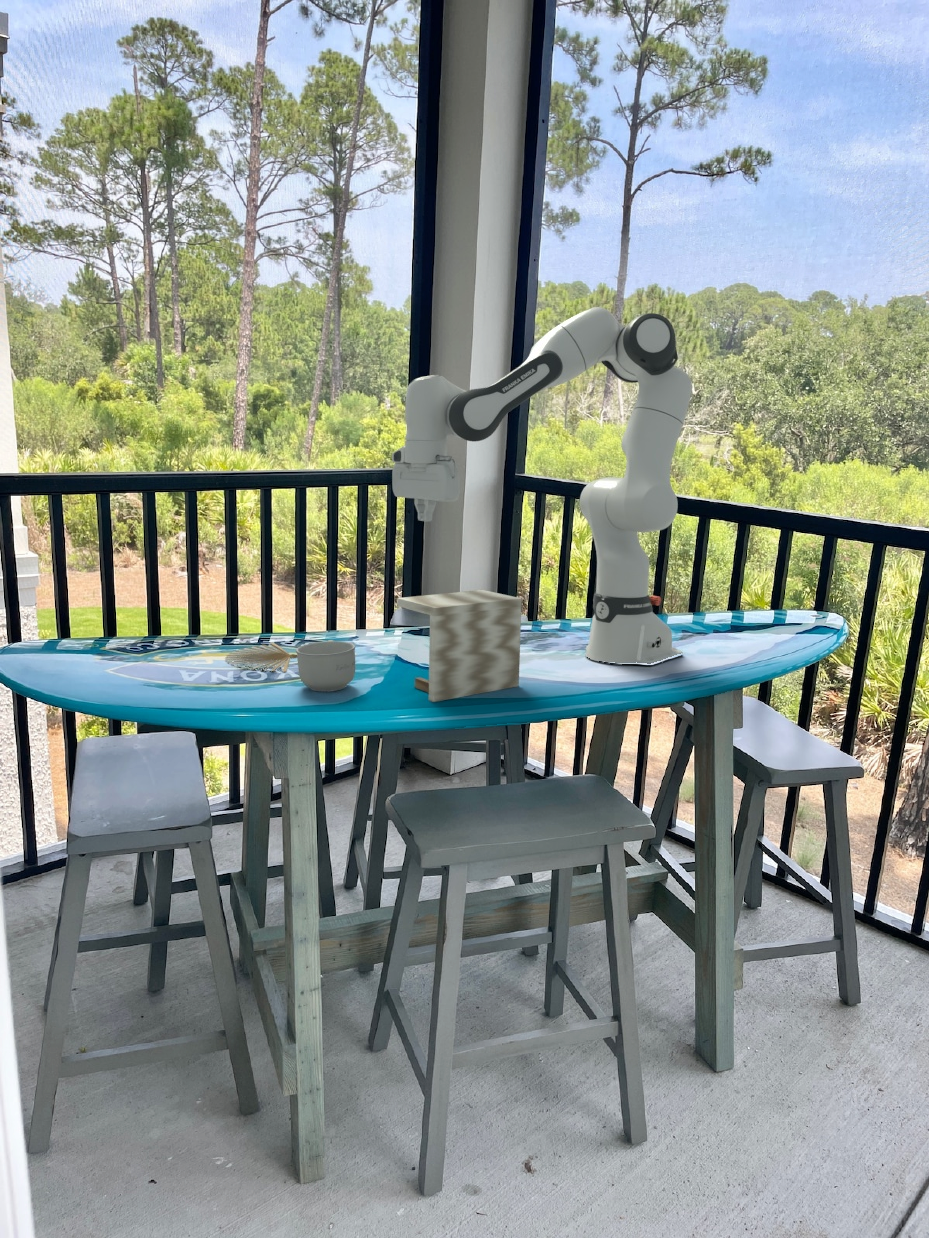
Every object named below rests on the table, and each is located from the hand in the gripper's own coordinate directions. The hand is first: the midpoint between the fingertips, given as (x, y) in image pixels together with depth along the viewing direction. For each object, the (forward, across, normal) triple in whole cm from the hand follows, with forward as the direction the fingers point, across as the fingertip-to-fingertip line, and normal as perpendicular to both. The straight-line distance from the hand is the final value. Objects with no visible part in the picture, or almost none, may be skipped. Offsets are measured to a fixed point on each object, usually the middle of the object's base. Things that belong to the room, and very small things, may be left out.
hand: (425, 521), depth 191 cm
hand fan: (+30, +15, +31) cm, 45 cm away
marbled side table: (+29, -26, +10) cm, 40 cm away
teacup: (+29, -12, +30) cm, 44 cm away
